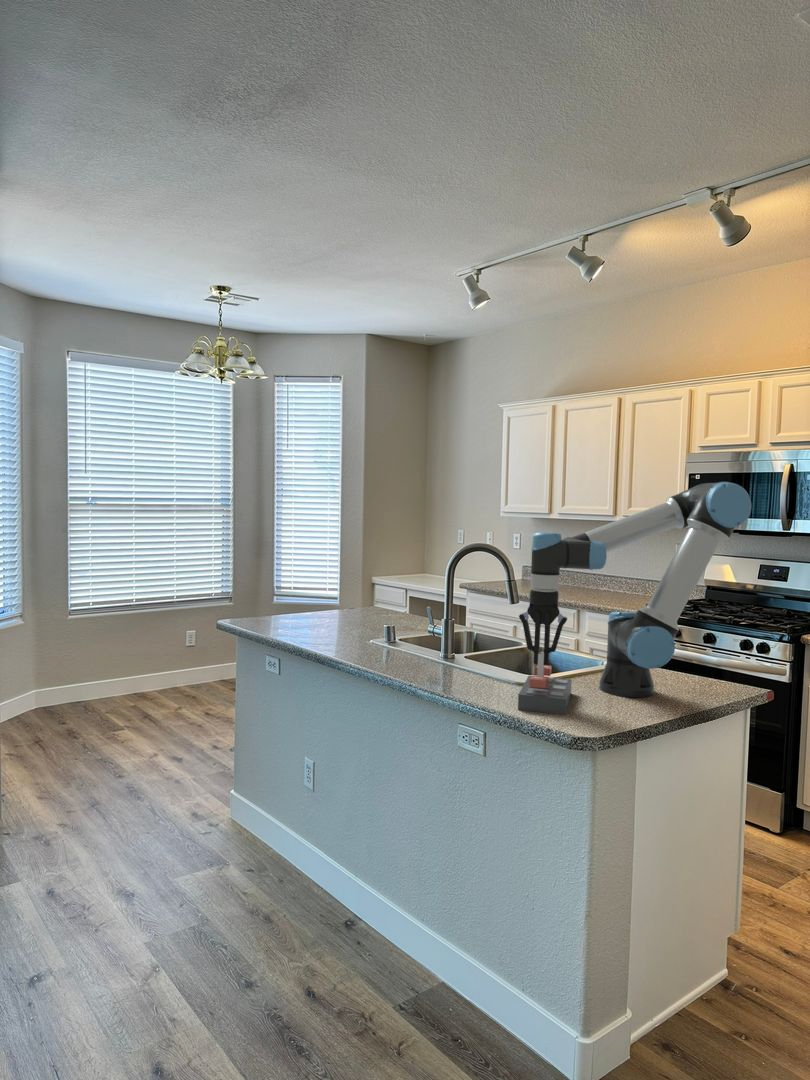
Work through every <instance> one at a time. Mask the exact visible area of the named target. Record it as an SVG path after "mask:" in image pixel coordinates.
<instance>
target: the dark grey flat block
mask: <svg viewBox="0 0 810 1080" xmlns="http://www.w3.org/2000/svg"><path fill="white" fill-rule="evenodd" d="M531 676H532V675H528V676H527V678H526V680H525V681H524V682H523V685H522V687H521V688H520V691H519V692H518V697H517V698H518V699H517V701H518V702H517V710H518V711H528V712H535V713H536V712H537V713H545V714H552V715H553V714H555V715H566V714H567V713H566V712H567V710H568V705H569V702H570V699H571V695H572V680H573V679H572V678H571V679H570V678H560V677H551V676H548V677H549V685H548V687H545V688H538V687H529V684H530V678H531Z"/></svg>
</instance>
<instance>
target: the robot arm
mask: <svg viewBox="0 0 810 1080" xmlns="http://www.w3.org/2000/svg"><path fill="white" fill-rule="evenodd" d="M751 513H752V501H751V498H750V495H749V494H748V492H747V490H746V489H745V488H744V487H743V486H741V485H739V484H737V483H734V482H729V481H719V482H705V483H700V484H698V485H695V486H693V487H691V488H689V489H688V488H687V489H686V490H684V491H681V492H679V493H677V494H674V495H672V496H669V497H667V499H666V500H665V502H664V503H661V504H657V505H655V506H653V507H650V508H647V509H645V510H642V511H640V512H637V513H635V514H631V515H628V516H625V517H623V518H619V519H617V520H614V521H612V522H610V523H607V524H605V525H601V526H599V527H596V528H593V529H590V530H588V531H585V532H583V533H581V534H578V535H575V536H572V537H571V536H570V537H569V536H567V537H565V538H562V534H561V533H559V532H546V531H545V532H544V531H540V532H539V531H538V532H535V533H533V537H532V546H531V567H530V569H531V570H530V583H529V584H530V586H529V587H530V589H531V590H530V591H529V605H528V608H527V610H526V611H524V612H522V613H519V615H518V617H519V620H520V621H521V623H522V627H523V633H524V637H525V642H526V647H527V650H528V651H531V652H533V664H534V665H536V666H537V665H538V669H537V675H536V676H541V677H543V676H544V665H548V666H549V663H550V660H549V659H550V658H549V657H550V654H551V653H554V652H556V651H557V646H558V644H559V640H560V637H561V633H562V629H563V626H564V625H565V624H566V623H567V621H568V617H567V616H565V615H564V614H561V613H560V608H559V592H558V591H557V590H559V588H560V569H573V570H590V571H592V570H602V569H604V568H605V565H606V562H607V553H609V552H611V551H614V550H616V549H620V548H623V547H625V546H628V545H631V544H634V543H636V542H639V541H641V540H645V539H647V538H650V537H653V536H655V535H658V534H660V533H663V532H667V531H670V530H672V529H675V528H676V529H678V530H682V529H685V528H687V527H688V530H687V531H686V532H685V533H686V534H685V535H684V536H683V539H682V540H681V543H680V544H679V546H678V548H677V550H676V551H675V554H674V555H673V558H672V559H671V561H670V562H669V564H668V566H667V568H666V570H665V572H664V574H663V576H662V578H661V579H660V581H659V583H658V585H657V587H656V588H655V590H654V592H653V594H652V596H651V598H650V600H649V602H647V605H645V606H644V607H640V608H637V611H612V612H610V613H609V614H608V615H609V616H608V621H607V626H608V627H607V645H606V647H607V649H606V650H607V651H606V664H605V666H604V669H603V671H602V673H601V677H600V679H599V685H598V686H599V690H600V691H602V692H604V693H607V694H609V695H613V696H618V697H625V698H645V697H647V698H648V697H650V696H653V695H654V694H655V685H654V681H653V677H652V674H651V670H654V669H657V668H662V667H663V666H665V665H667V664H668V663H669V661H671V659H672V658H673V656H674V654H675V650H676V645H675V644H676V643H675V638H676V636H677V635H678V633H679V630H680V628H679V625H678V620H679V619H680V617H681V614H682V613H683V611H684V609H685V607H686V605H687V603H688V602H689V600H690V597H691V596H692V595H693V592H694V591H695V588H696V587H697V585H698V583H699V581H700V580H701V578H702V576H703V574H704V572H705V570H706V568H707V567H708V565H709V563H710V561H711V559H712V557H713V556H714V554H715V552H716V550H717V548H718V546H719V544H720V543H721V542H725V541H729V539H730V537H731V535H732V534H733V532H734V530H735V528H736V527H740V526H741V525H743V524H744V523H745V522H746V521H747V520H748V519H749V517H750V515H751ZM529 617H530V618H531V620H532V621H533V623H534V640H532V633H531V628H530V624H529ZM556 619H557V623H558V624H557V627H556V631H555V635H554V639H553V641H552V645H551V646H550V643H551V624H553V623H554V621H555V620H556ZM541 625H544V641H543V642H544V643H543V651H541V649H540V645H541V643H540V642H541V628H542V627H541ZM533 641H534V642H533ZM533 643H534V645H533Z"/></svg>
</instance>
